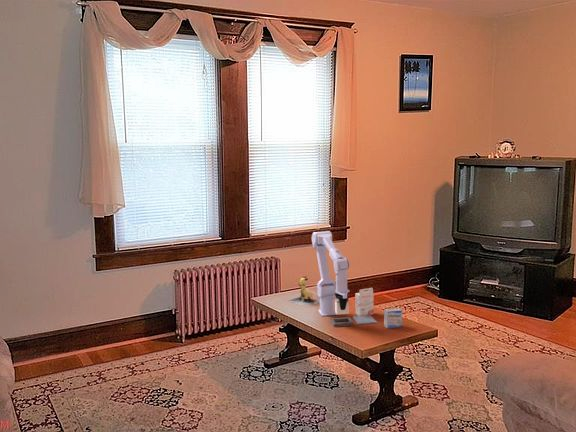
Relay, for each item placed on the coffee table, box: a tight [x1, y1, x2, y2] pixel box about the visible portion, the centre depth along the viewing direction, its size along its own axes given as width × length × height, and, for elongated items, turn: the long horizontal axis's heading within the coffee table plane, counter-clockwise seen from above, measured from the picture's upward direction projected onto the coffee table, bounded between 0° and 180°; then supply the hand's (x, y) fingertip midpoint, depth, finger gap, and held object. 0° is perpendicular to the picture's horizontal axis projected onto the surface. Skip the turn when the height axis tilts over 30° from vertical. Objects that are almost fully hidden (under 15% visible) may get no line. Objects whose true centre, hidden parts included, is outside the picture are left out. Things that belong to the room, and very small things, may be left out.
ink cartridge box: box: [354, 287, 375, 316], centre depth 298 cm, size 9×5×15 cm, turn 112°
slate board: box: [352, 315, 378, 325], centre depth 290 cm, size 11×10×1 cm
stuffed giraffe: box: [288, 275, 320, 308], centre depth 324 cm, size 16×18×16 cm
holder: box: [330, 316, 355, 328], centre depth 286 cm, size 8×10×2 cm
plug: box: [334, 298, 350, 316], centre depth 285 cm, size 4×6×7 cm, turn 99°
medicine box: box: [383, 307, 403, 329], centre depth 279 cm, size 8×4×9 cm, turn 101°
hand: (341, 308), depth 285 cm, fingers closed on plug, 4 cm apart
